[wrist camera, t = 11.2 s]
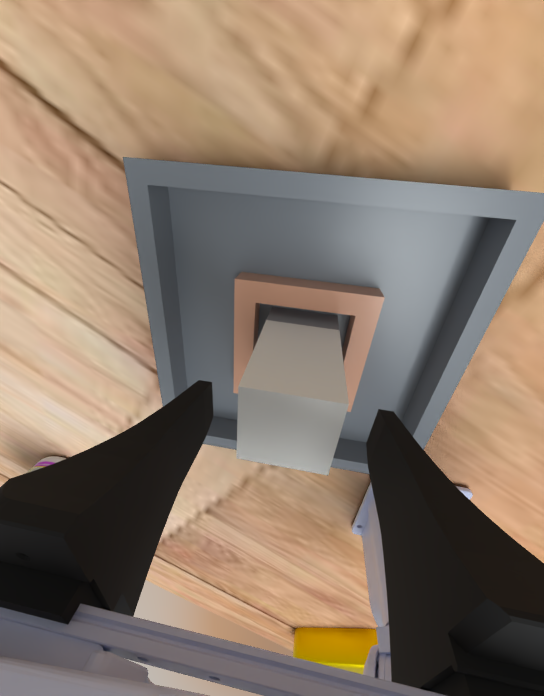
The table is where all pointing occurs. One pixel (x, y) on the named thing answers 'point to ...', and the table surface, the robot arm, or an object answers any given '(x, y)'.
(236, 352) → the walled box
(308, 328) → the grey square prism
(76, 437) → the table surface
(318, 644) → the element tile
